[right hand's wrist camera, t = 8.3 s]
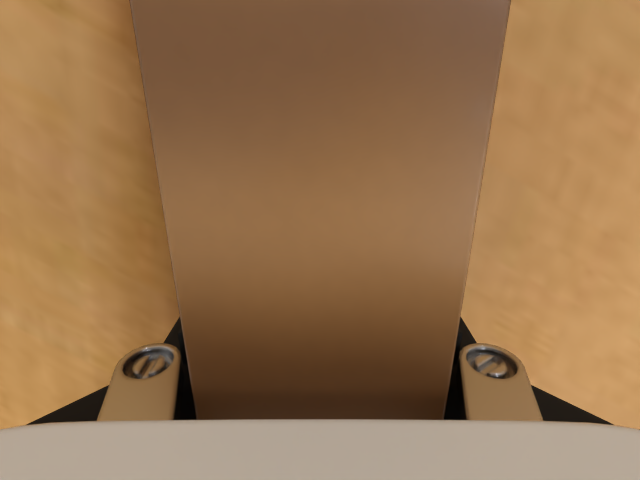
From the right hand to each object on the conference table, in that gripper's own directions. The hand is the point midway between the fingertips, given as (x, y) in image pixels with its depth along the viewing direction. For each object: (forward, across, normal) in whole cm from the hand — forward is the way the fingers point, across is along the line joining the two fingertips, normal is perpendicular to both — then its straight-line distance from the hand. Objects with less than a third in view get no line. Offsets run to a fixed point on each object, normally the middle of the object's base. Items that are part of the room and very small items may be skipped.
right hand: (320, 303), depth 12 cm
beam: (+3, 0, -29) cm, 29 cm away
